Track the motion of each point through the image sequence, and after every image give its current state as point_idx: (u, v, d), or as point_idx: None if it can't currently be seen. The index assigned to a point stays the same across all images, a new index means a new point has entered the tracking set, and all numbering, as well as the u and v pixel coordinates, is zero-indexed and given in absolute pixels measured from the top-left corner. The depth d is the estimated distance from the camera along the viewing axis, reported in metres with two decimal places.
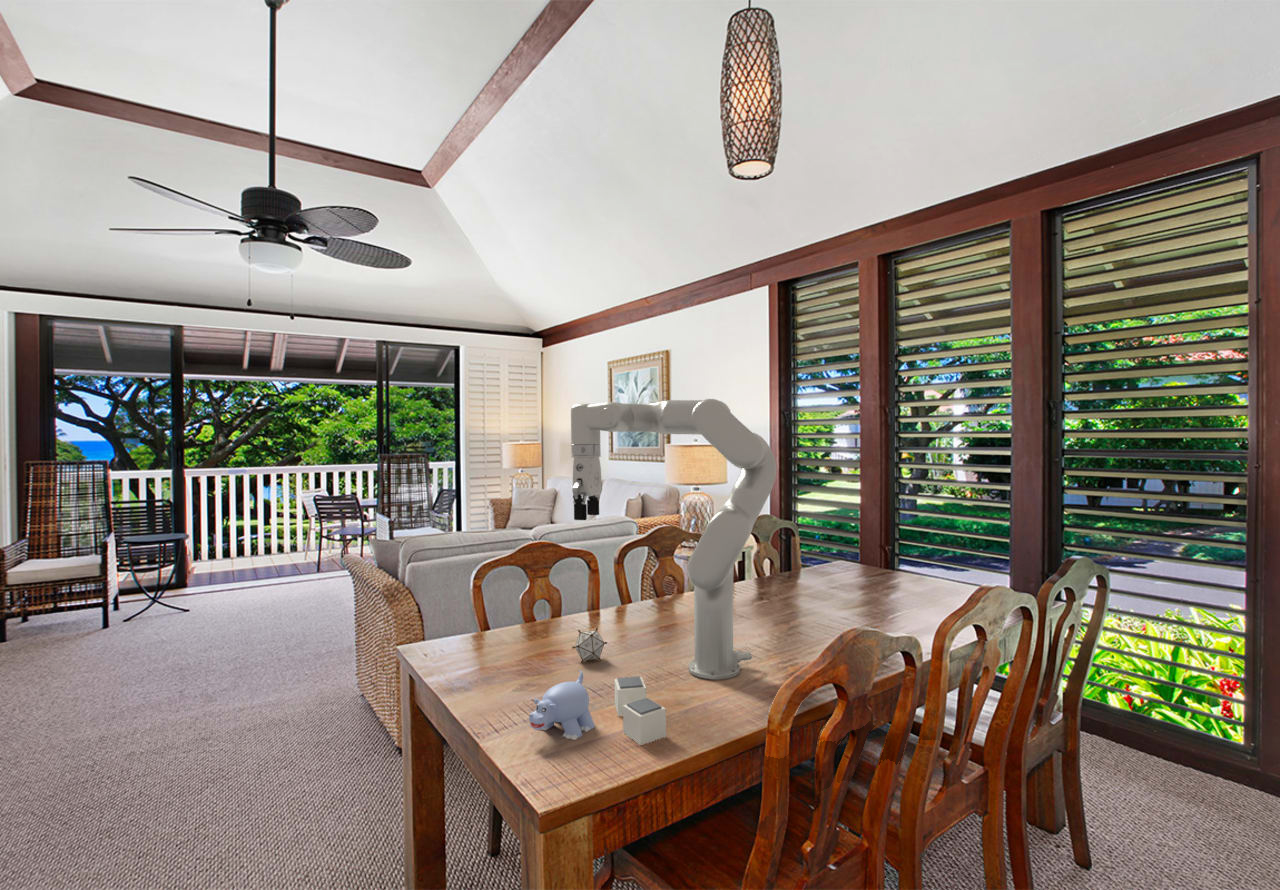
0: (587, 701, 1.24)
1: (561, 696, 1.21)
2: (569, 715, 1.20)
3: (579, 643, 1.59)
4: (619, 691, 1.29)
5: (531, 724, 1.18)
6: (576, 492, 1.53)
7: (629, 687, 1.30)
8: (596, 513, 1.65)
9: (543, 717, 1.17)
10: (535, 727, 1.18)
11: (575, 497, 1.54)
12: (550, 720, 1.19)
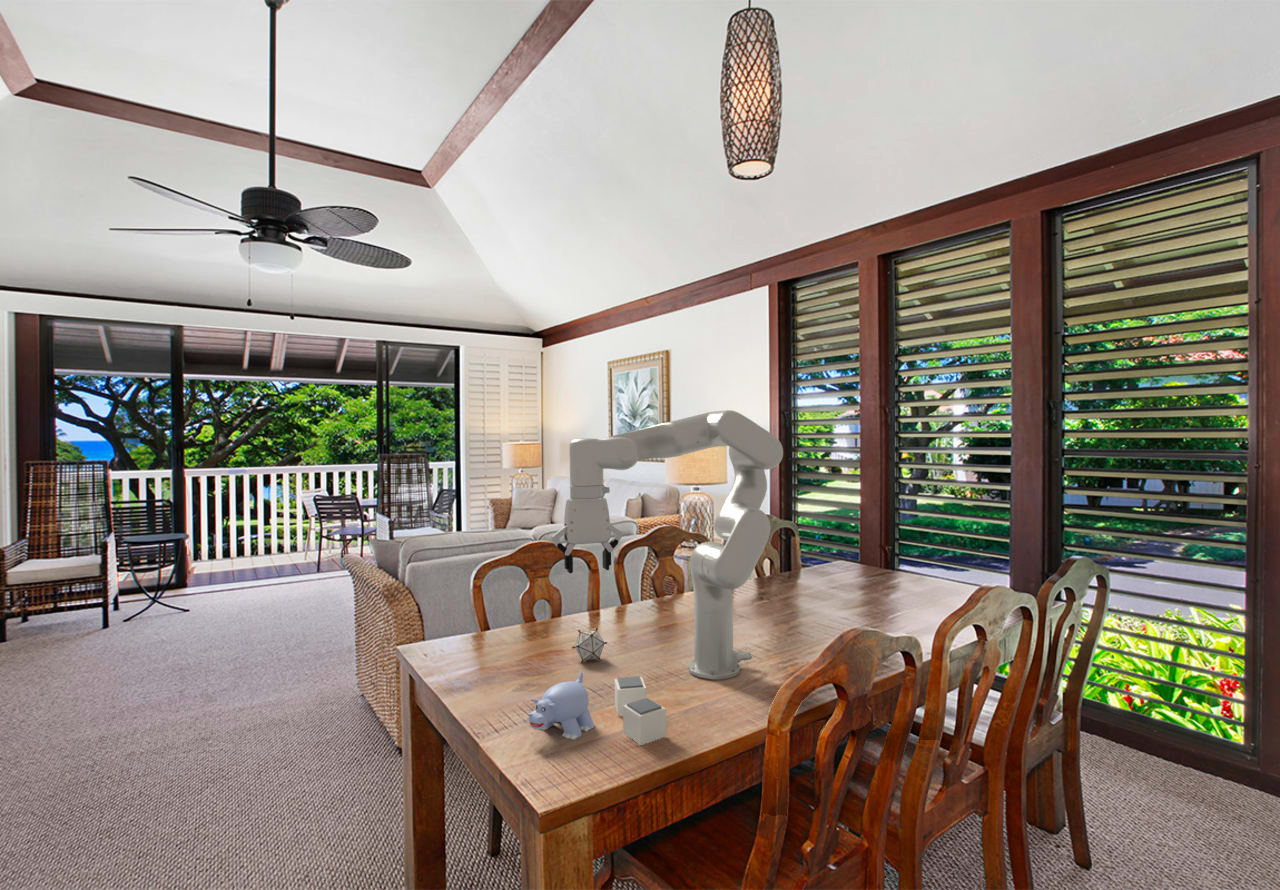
0: (587, 701, 1.24)
1: (561, 695, 1.21)
2: (569, 714, 1.20)
3: (579, 643, 1.59)
4: (619, 691, 1.29)
5: (530, 724, 1.19)
6: None
7: (629, 687, 1.30)
8: None
9: (543, 717, 1.18)
10: (534, 727, 1.18)
11: None
12: (549, 720, 1.19)
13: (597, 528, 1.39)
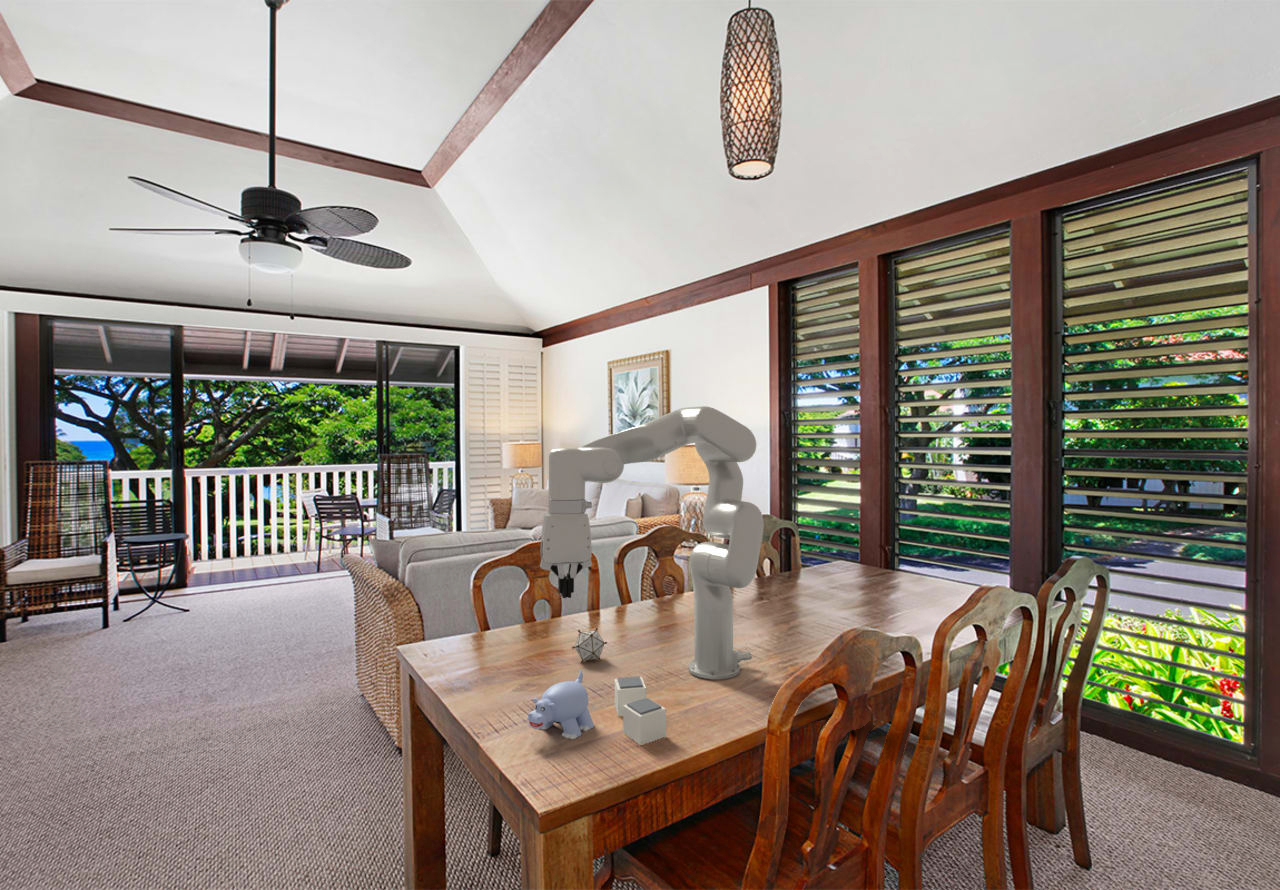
0: (586, 701, 1.24)
1: (560, 695, 1.22)
2: (568, 714, 1.21)
3: (579, 643, 1.59)
4: (619, 691, 1.29)
5: (530, 723, 1.19)
6: None
7: (629, 687, 1.30)
8: None
9: (542, 716, 1.18)
10: (534, 726, 1.18)
11: None
12: (549, 719, 1.19)
13: (576, 547, 1.27)
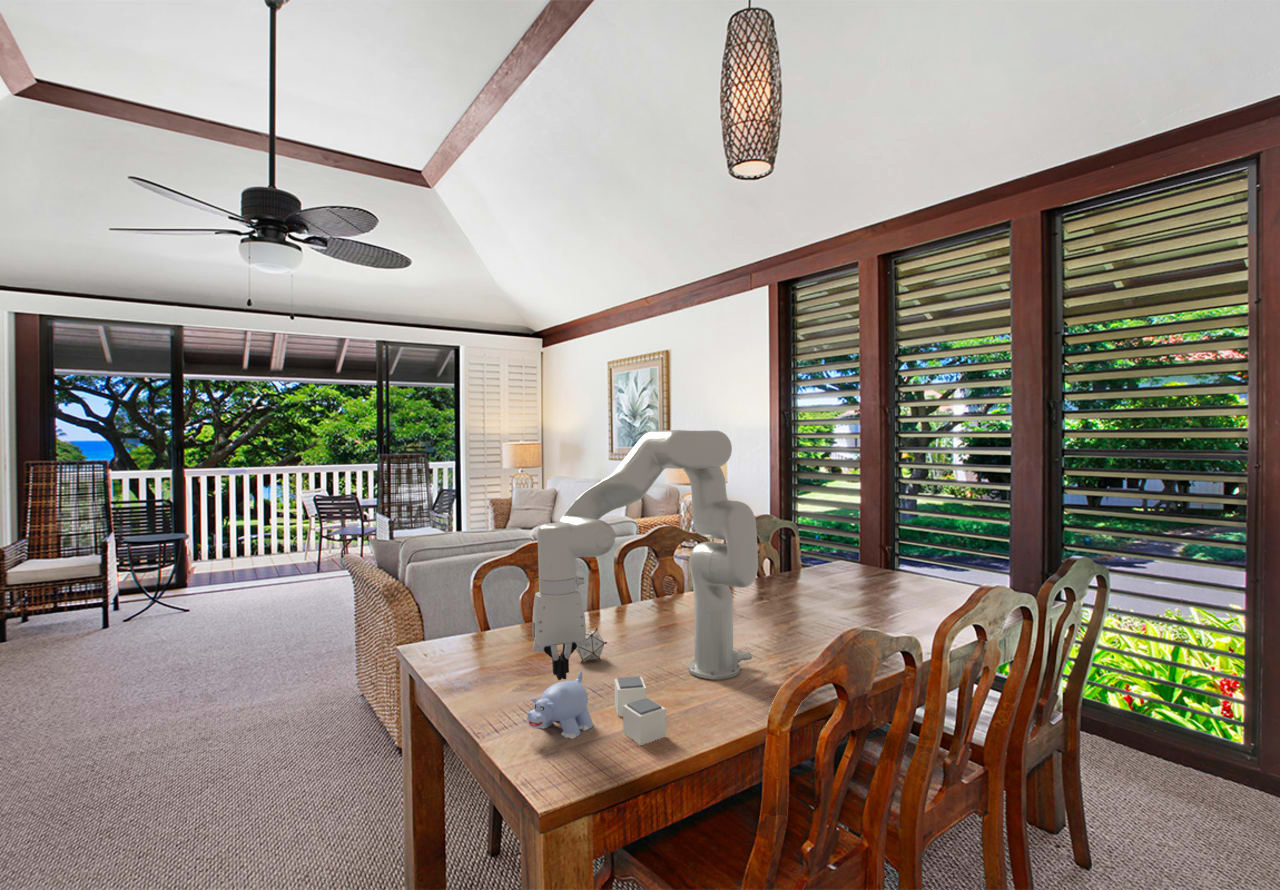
0: (585, 700, 1.25)
1: (559, 695, 1.22)
2: (567, 714, 1.21)
3: None
4: (619, 691, 1.29)
5: (529, 723, 1.19)
6: None
7: (629, 687, 1.30)
8: None
9: (541, 716, 1.18)
10: (533, 726, 1.18)
11: None
12: (548, 719, 1.19)
13: (570, 627, 1.22)
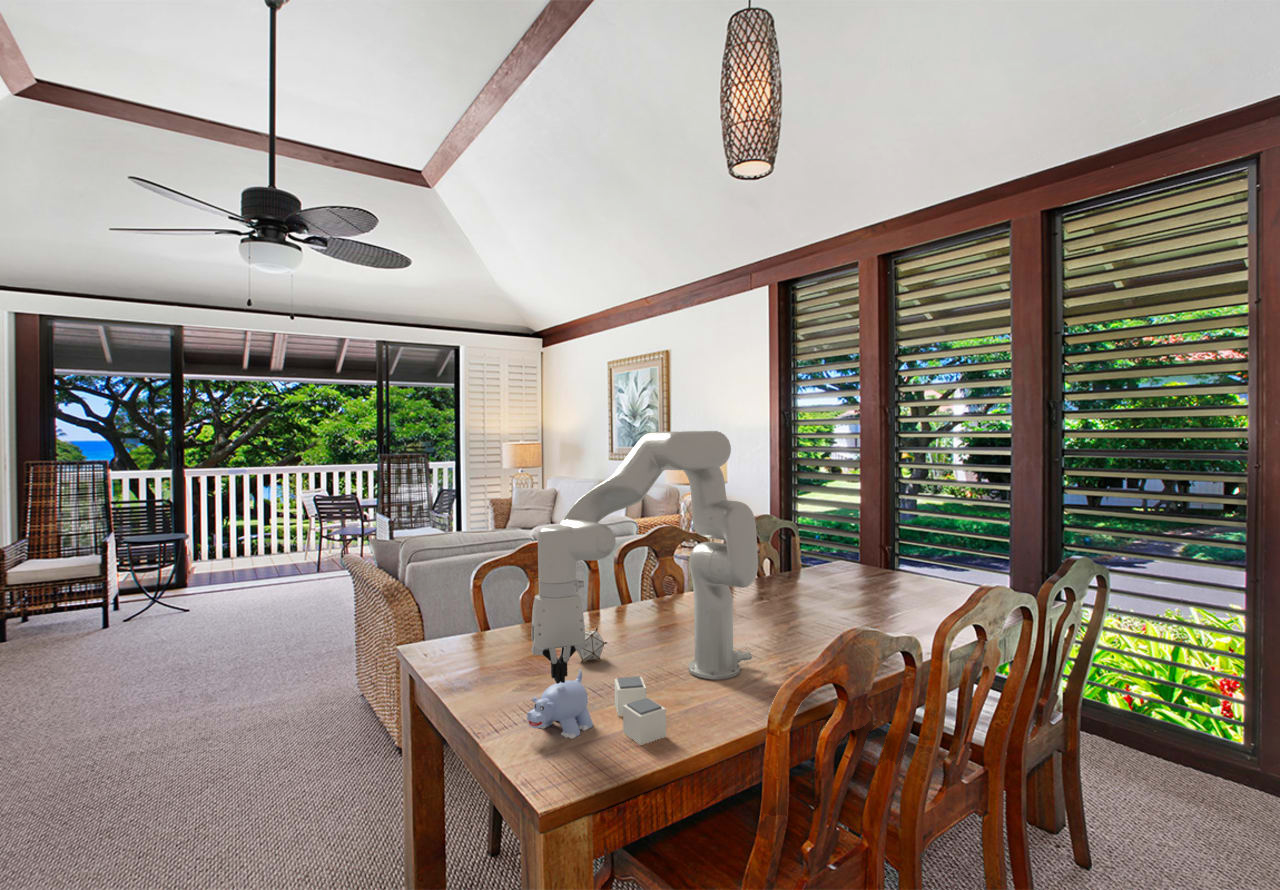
0: (585, 700, 1.25)
1: (559, 694, 1.22)
2: (567, 713, 1.21)
3: None
4: (619, 691, 1.29)
5: (529, 722, 1.19)
6: None
7: (629, 687, 1.30)
8: None
9: (541, 715, 1.18)
10: (533, 725, 1.18)
11: None
12: (548, 718, 1.20)
13: (569, 630, 1.22)
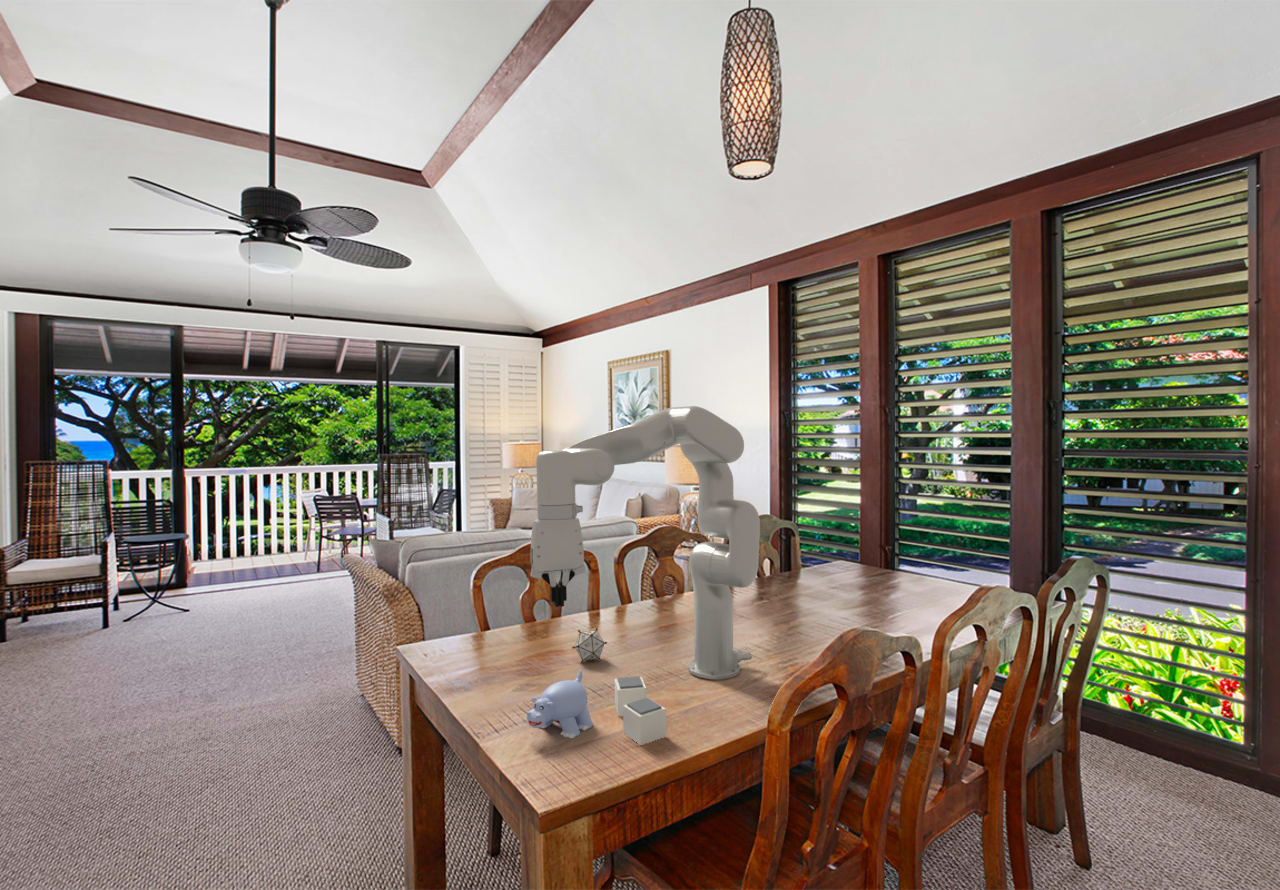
0: (585, 700, 1.25)
1: (559, 694, 1.22)
2: (567, 713, 1.21)
3: (579, 643, 1.59)
4: (619, 691, 1.29)
5: (529, 722, 1.19)
6: None
7: (629, 687, 1.30)
8: None
9: (541, 715, 1.18)
10: (533, 725, 1.18)
11: None
12: (548, 718, 1.20)
13: (568, 553, 1.22)
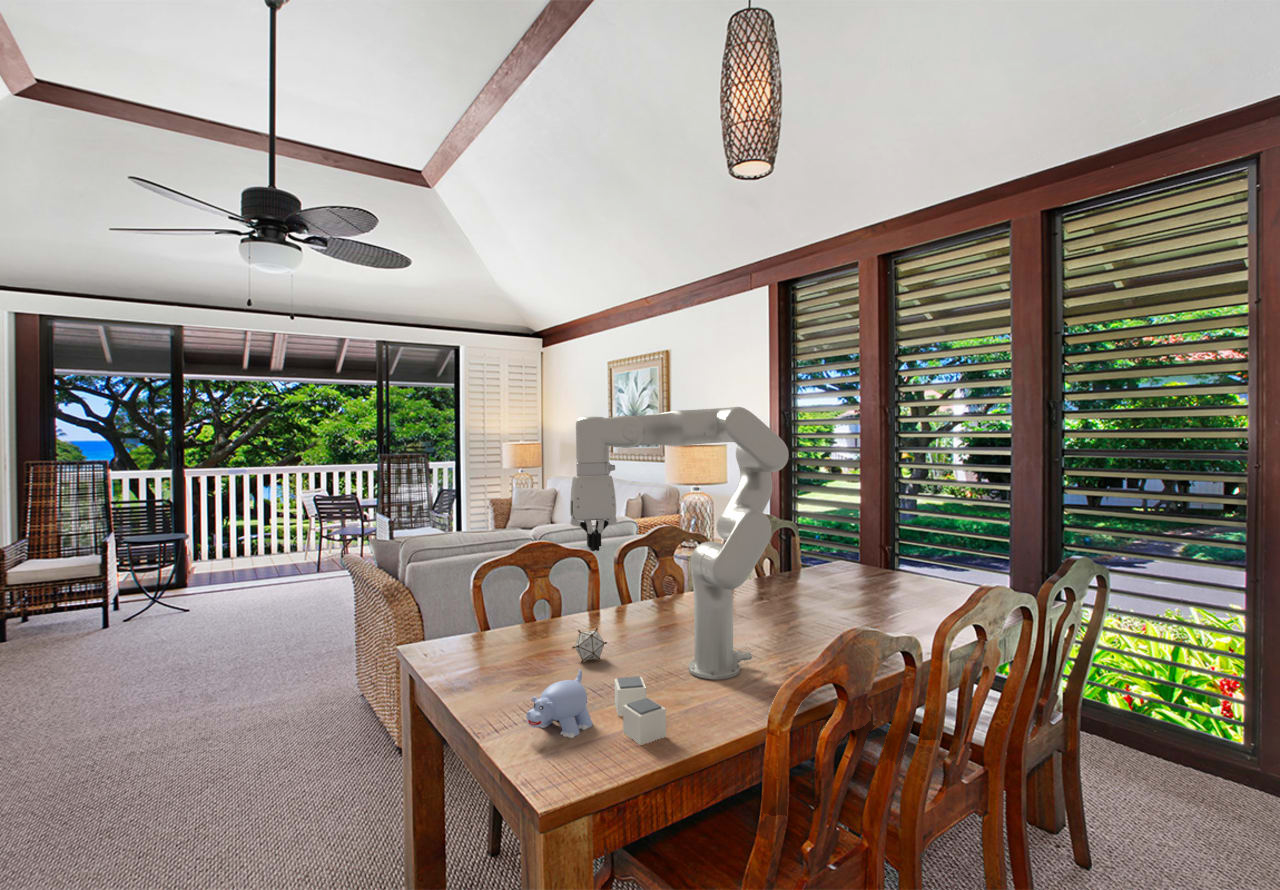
0: (585, 700, 1.25)
1: (559, 694, 1.22)
2: (566, 713, 1.21)
3: (579, 643, 1.59)
4: (619, 691, 1.29)
5: (528, 722, 1.20)
6: None
7: (629, 687, 1.30)
8: None
9: (540, 715, 1.18)
10: (532, 725, 1.19)
11: None
12: (547, 718, 1.20)
13: (603, 505, 1.41)
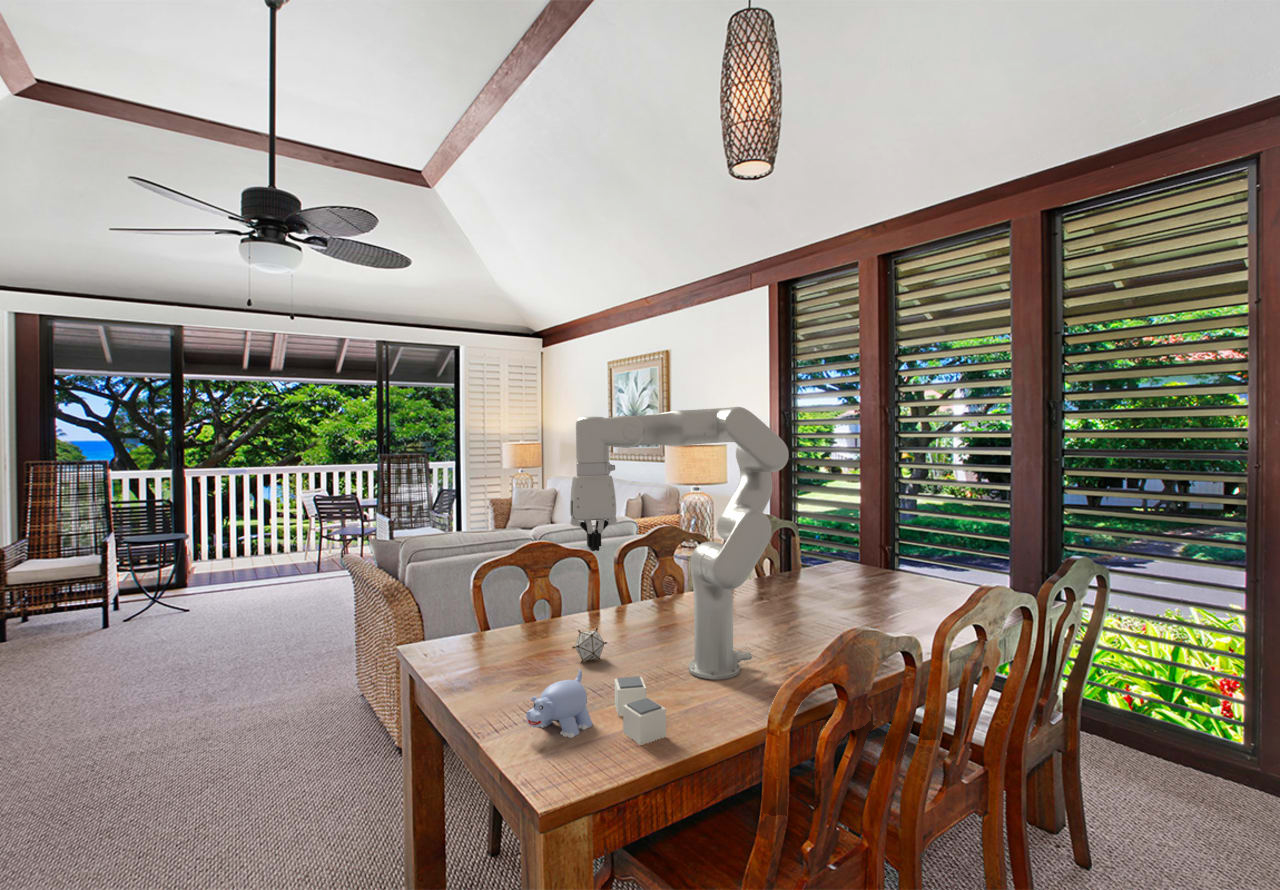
0: (585, 699, 1.25)
1: (558, 694, 1.22)
2: (566, 713, 1.21)
3: (579, 643, 1.59)
4: (619, 691, 1.29)
5: (528, 721, 1.20)
6: None
7: (629, 687, 1.30)
8: None
9: (540, 714, 1.19)
10: (532, 724, 1.19)
11: None
12: (547, 718, 1.20)
13: (603, 505, 1.41)
